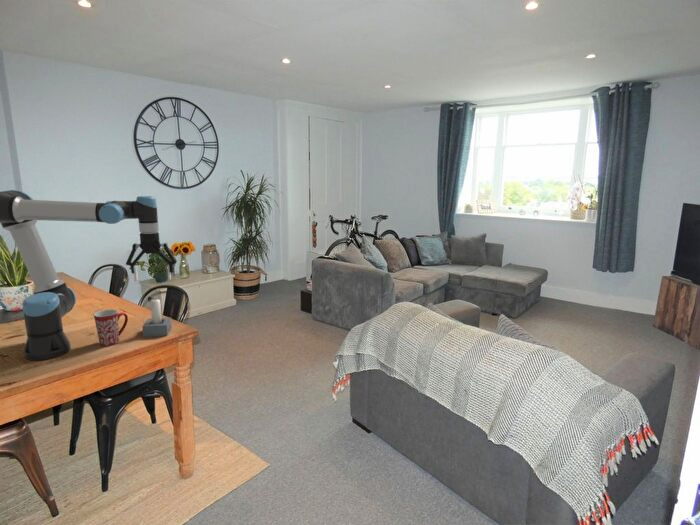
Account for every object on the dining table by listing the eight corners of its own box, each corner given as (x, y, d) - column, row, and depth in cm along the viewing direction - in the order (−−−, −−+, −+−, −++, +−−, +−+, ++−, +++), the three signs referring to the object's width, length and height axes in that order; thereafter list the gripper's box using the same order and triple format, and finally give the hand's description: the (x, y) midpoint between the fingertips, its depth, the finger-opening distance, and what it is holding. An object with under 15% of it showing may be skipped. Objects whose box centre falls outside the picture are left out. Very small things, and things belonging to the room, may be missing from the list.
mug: (100, 349, 173) (96, 318, 170) (94, 342, 179) (90, 312, 176) (133, 340, 182) (130, 311, 179) (126, 334, 188) (123, 306, 185)
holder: (167, 335, 188) (166, 325, 187) (143, 337, 186) (142, 326, 185) (171, 327, 197) (170, 317, 196) (148, 328, 195) (147, 318, 194)
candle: (161, 331, 190) (159, 299, 187) (151, 331, 189) (149, 300, 186) (163, 328, 194) (160, 297, 191) (153, 328, 193) (151, 297, 190)
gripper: (181, 230, 188) (184, 276, 192) (120, 231, 182) (125, 278, 187) (178, 233, 181) (181, 280, 185) (114, 234, 175) (119, 283, 180)
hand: (153, 279), depth 186 cm, fingers open, 13 cm apart
